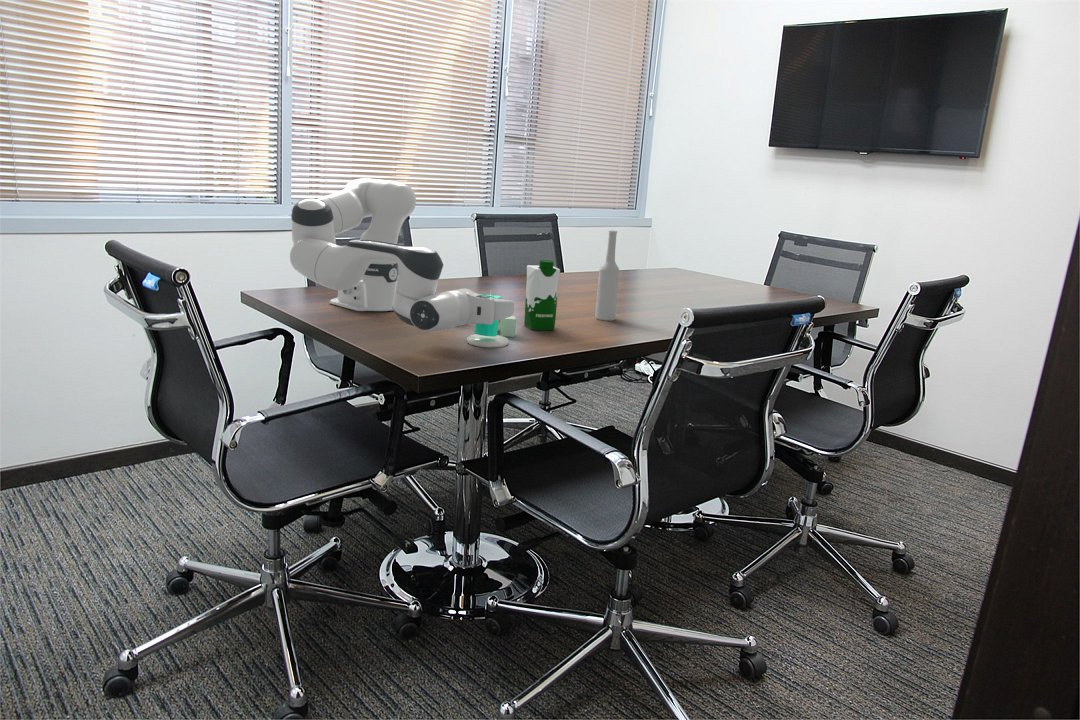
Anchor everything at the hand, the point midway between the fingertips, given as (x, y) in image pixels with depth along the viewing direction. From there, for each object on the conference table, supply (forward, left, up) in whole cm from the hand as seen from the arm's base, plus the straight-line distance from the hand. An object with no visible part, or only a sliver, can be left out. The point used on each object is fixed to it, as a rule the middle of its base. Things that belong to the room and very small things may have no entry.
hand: (491, 300), depth 201 cm
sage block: (-1, +11, -11) cm, 16 cm away
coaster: (0, -1, -11) cm, 11 cm away
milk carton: (+1, +26, -12) cm, 29 cm away
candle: (0, -2, -9) cm, 9 cm away
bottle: (+10, +54, -12) cm, 56 cm away
